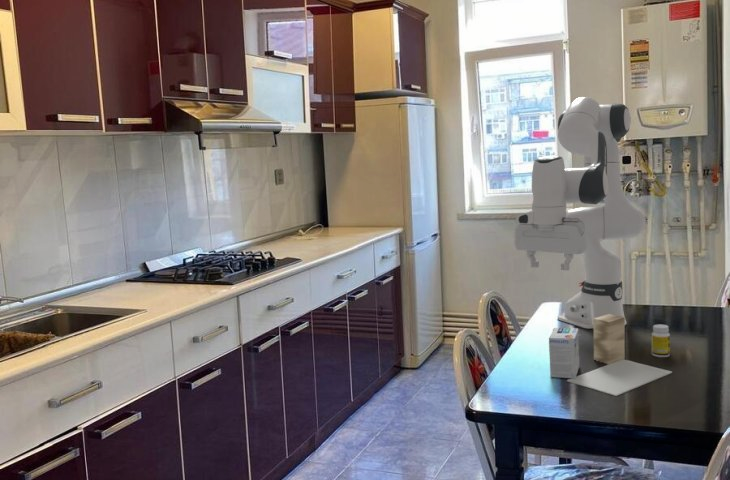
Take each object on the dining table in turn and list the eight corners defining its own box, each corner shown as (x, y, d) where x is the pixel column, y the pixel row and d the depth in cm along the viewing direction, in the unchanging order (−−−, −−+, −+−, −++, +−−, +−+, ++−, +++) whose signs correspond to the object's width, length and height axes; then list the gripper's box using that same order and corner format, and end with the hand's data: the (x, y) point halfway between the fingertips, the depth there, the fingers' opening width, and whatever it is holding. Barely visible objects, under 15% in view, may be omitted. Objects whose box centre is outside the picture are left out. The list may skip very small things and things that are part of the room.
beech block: (593, 360, 190) (593, 318, 188) (609, 354, 194) (608, 313, 192) (609, 364, 186) (608, 321, 184) (624, 358, 190) (624, 317, 188)
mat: (566, 381, 175) (566, 380, 175) (623, 360, 188) (623, 359, 188) (616, 396, 163) (616, 395, 163) (672, 372, 177) (672, 371, 177)
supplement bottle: (671, 357, 188) (671, 328, 187) (653, 357, 189) (653, 328, 188) (667, 352, 193) (667, 323, 192) (650, 352, 194) (650, 323, 193)
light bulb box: (554, 365, 188) (553, 327, 186) (580, 366, 185) (578, 327, 184) (549, 377, 178) (548, 337, 177) (576, 378, 175) (574, 338, 174)
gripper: (590, 217, 174) (591, 270, 176) (524, 215, 190) (525, 264, 191) (577, 219, 170) (577, 273, 171) (510, 217, 186) (511, 267, 187)
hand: (549, 268), depth 181 cm, fingers open, 8 cm apart
